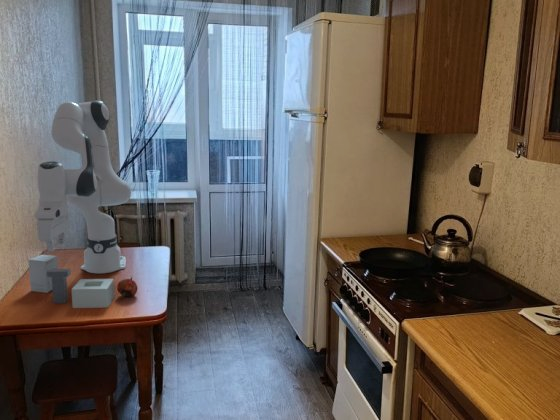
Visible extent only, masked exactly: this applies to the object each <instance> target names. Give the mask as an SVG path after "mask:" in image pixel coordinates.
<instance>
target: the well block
mask: <svg viewBox="0 0 560 420" xmlns="http://www.w3.org/2000/svg"><path fill="white" fill-rule="evenodd" d="M115 297H116V295H115V279H114V278H80V279H79V280H78V281H77V282H76V283H75V285H74V286H73V287H72V288H71V301H72V303H71V304H72V309H93V308H95V309H97V308H101V309H102V308H103V309H104V308H109V306H110V305H111V304H112V302H113V301H114V298H115Z"/></svg>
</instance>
